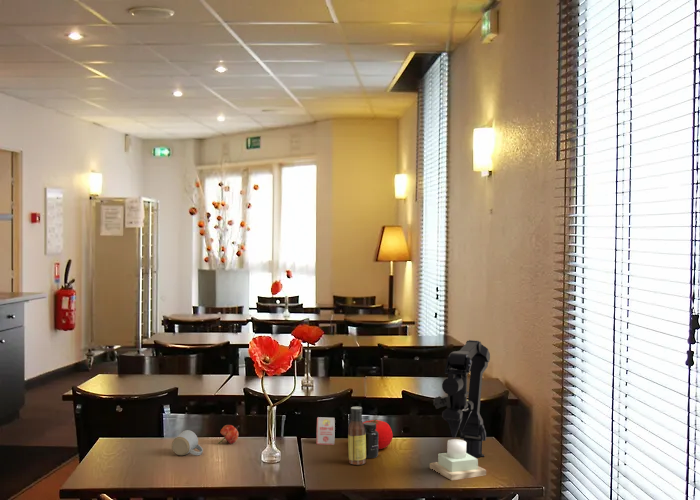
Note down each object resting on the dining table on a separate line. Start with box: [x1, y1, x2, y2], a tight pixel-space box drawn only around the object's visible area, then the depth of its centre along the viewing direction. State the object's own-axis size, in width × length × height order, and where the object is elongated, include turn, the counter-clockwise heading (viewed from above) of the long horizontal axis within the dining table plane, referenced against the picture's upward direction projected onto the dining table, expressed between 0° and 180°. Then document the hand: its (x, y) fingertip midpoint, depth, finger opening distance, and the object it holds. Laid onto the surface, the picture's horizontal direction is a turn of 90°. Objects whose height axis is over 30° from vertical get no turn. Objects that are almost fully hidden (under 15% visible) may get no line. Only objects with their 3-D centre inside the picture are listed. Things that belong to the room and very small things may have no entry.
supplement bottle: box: [363, 422, 379, 459], centre depth 290 cm, size 7×7×12 cm
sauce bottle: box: [347, 406, 367, 466], centre depth 281 cm, size 7×6×20 cm
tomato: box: [362, 419, 394, 450], centre depth 301 cm, size 14×13×10 cm
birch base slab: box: [429, 461, 487, 481], centre depth 274 cm, size 14×14×2 cm
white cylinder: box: [446, 438, 466, 459], centre depth 274 cm, size 6×6×5 cm
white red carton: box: [315, 416, 336, 446], centre depth 306 cm, size 4×7×10 cm, turn 88°
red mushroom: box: [217, 424, 240, 445], centre depth 304 cm, size 7×7×10 cm
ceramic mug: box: [171, 429, 204, 456], centre depth 289 cm, size 11×8×8 cm
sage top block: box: [437, 452, 479, 472], centre depth 274 cm, size 10×10×4 cm
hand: (457, 434), depth 274 cm, fingers open, 9 cm apart
